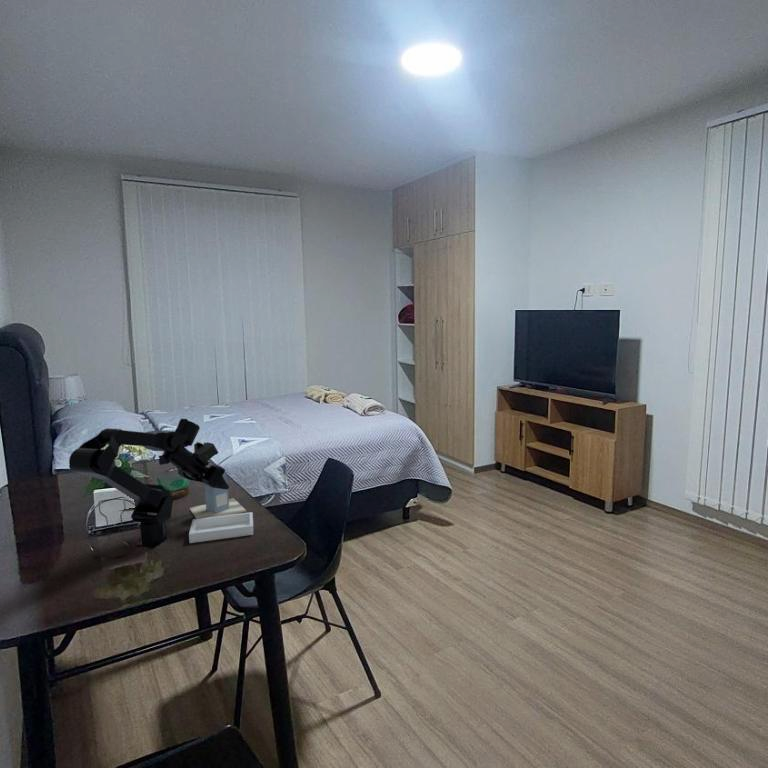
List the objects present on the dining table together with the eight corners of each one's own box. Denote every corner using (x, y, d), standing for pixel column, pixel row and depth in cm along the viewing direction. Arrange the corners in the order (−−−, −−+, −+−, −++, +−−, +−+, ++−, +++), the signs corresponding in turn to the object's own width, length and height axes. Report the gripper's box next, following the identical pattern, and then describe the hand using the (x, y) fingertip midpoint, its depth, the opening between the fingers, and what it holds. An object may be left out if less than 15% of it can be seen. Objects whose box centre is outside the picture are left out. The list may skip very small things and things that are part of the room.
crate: (189, 544, 140) (188, 534, 140) (193, 529, 150) (193, 519, 150) (253, 536, 144) (252, 525, 143) (253, 521, 154) (252, 512, 154)
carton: (215, 513, 159) (212, 475, 157) (206, 509, 162) (203, 472, 161) (229, 508, 163) (226, 471, 161) (220, 505, 166) (217, 468, 164)
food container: (167, 504, 172) (164, 474, 170) (157, 500, 175) (154, 471, 174) (200, 493, 181) (197, 465, 180) (189, 490, 185) (187, 462, 184)
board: (246, 513, 160) (246, 510, 160) (200, 525, 153) (199, 521, 153) (233, 501, 172) (233, 498, 172) (189, 510, 165) (189, 507, 165)
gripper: (216, 440, 150) (251, 468, 160) (183, 432, 162) (218, 458, 172) (193, 473, 145) (231, 500, 155) (161, 463, 158) (198, 488, 167)
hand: (219, 485), depth 163 cm, fingers open, 9 cm apart
